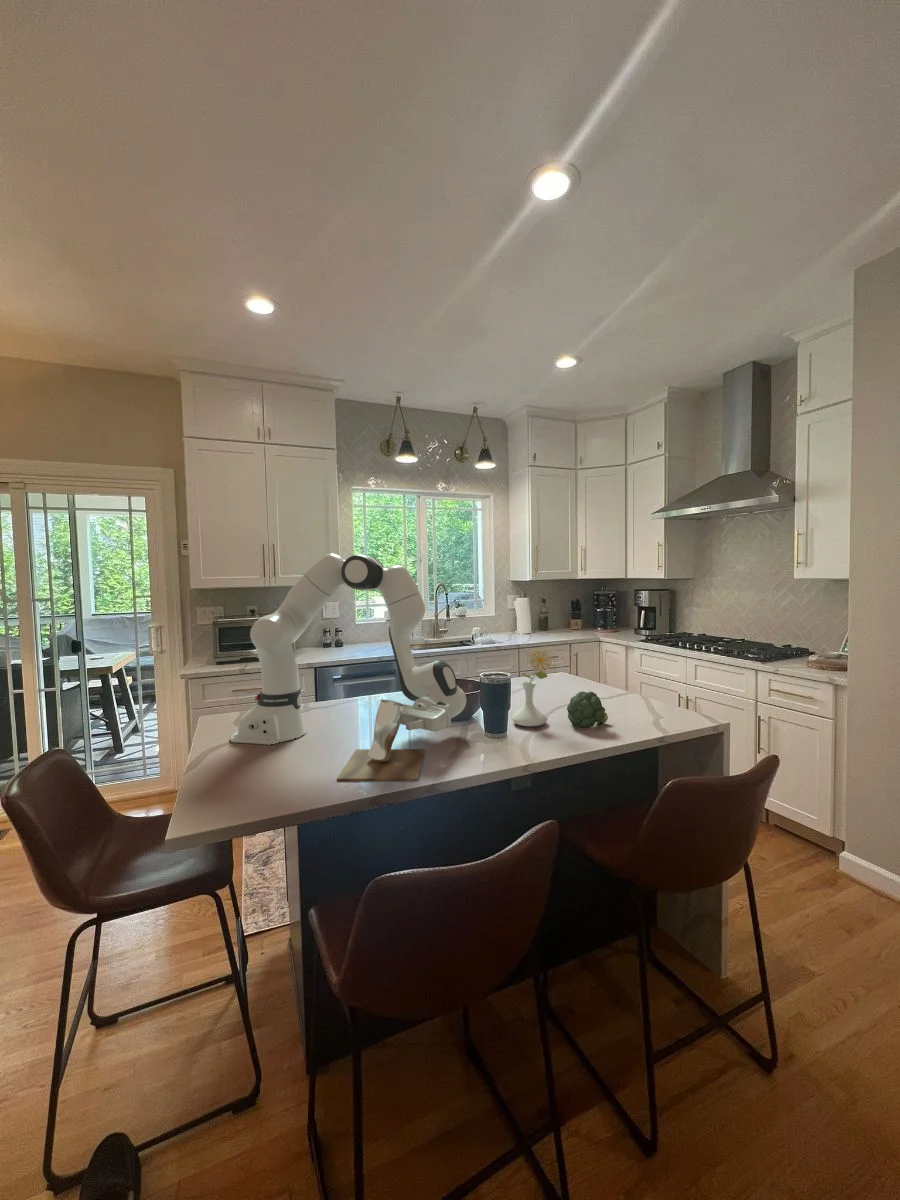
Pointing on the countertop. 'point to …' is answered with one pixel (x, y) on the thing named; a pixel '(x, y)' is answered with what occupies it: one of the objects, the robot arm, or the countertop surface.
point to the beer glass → (385, 729)
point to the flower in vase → (529, 712)
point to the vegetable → (586, 710)
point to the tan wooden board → (383, 766)
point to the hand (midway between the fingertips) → (394, 724)
